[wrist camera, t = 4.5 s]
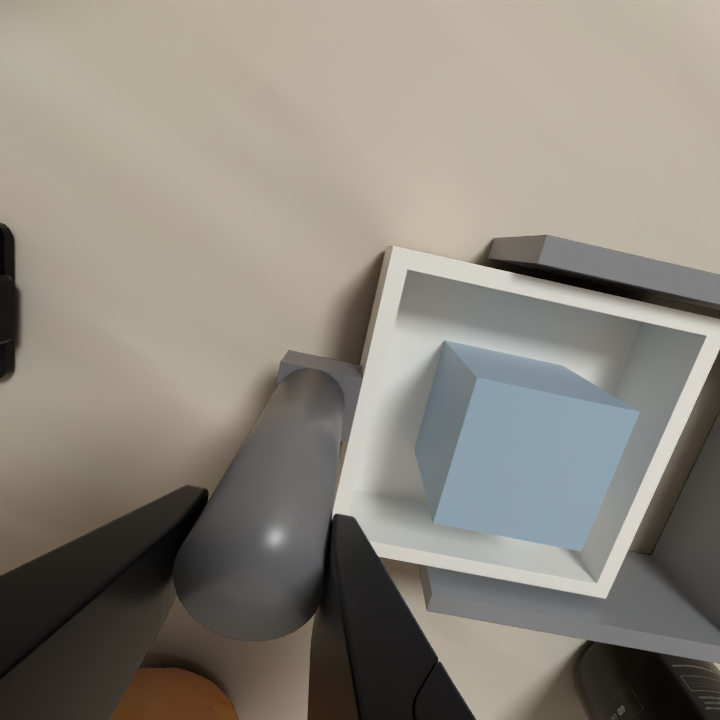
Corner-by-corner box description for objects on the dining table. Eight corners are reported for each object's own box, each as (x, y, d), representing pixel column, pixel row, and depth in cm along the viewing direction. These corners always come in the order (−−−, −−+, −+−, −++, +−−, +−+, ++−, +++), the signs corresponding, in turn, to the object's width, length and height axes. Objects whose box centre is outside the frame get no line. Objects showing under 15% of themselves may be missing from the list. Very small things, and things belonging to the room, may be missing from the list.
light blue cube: (414, 449, 18) (432, 522, 13) (444, 340, 17) (477, 377, 12) (524, 471, 18) (581, 551, 14) (561, 365, 17) (640, 412, 12)
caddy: (272, 478, 19) (145, 806, 8) (316, 230, 16) (216, 194, 5) (561, 534, 20) (819, 907, 9) (653, 305, 17) (1217, 421, 6)
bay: (411, 524, 20) (426, 610, 15) (493, 238, 17) (547, 234, 12) (660, 571, 21) (749, 669, 16) (789, 305, 17) (953, 328, 13)
